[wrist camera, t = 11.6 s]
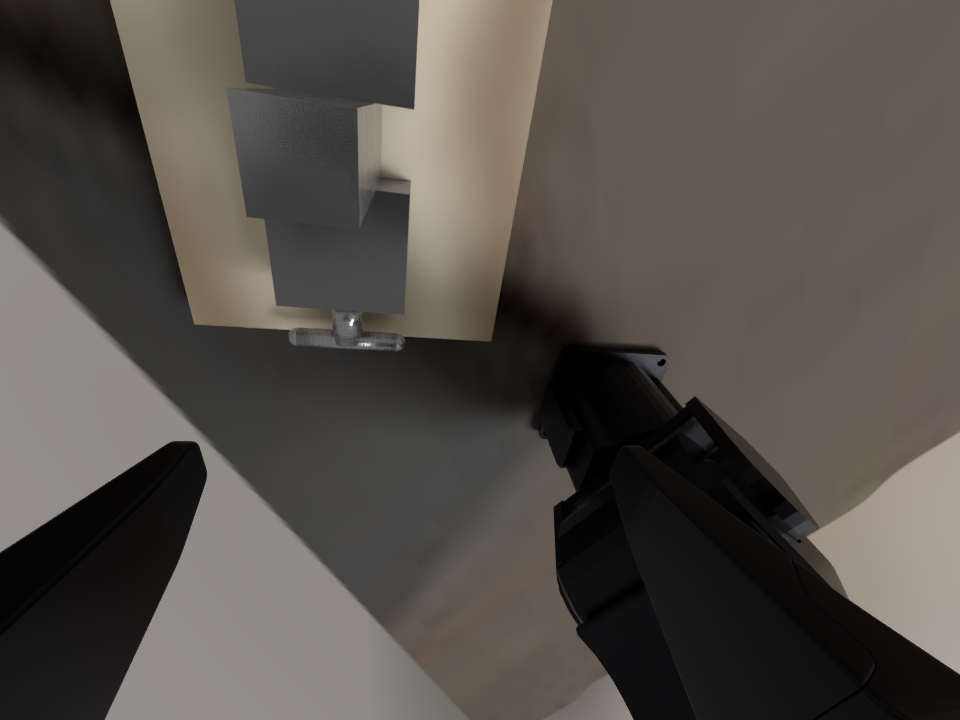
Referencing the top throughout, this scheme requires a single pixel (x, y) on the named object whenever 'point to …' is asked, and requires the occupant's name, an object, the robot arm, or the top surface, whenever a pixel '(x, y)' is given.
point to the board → (404, 155)
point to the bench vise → (327, 156)
